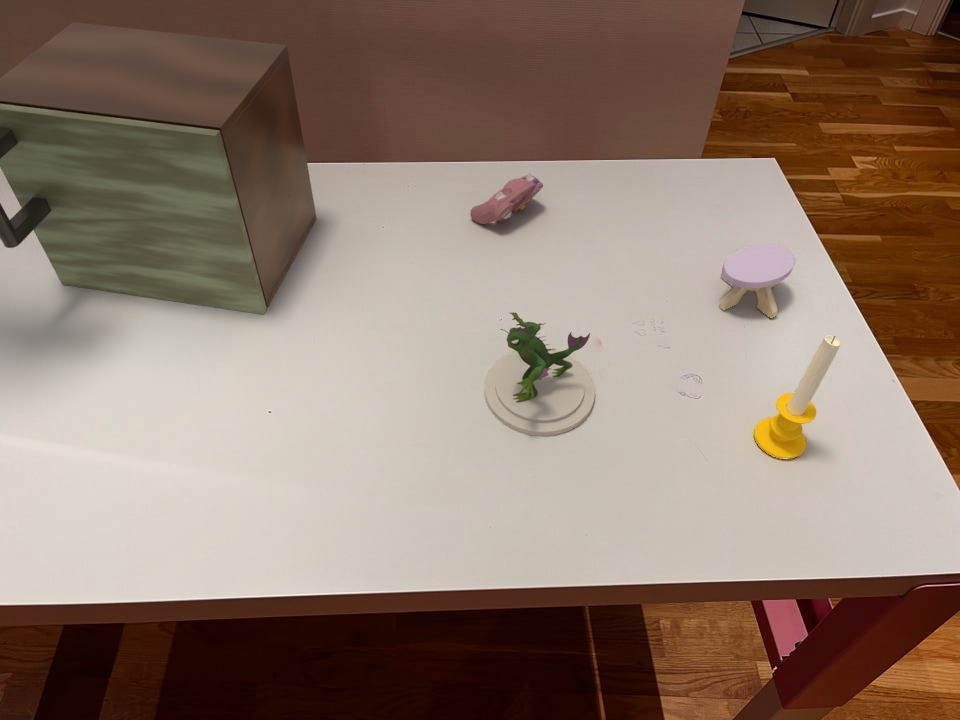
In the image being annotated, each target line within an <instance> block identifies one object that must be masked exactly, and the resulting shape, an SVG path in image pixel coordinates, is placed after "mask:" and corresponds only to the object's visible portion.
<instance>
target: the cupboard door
mask: <svg viewBox="0 0 960 720" xmlns="http://www.w3.org/2000/svg"><path fill="white" fill-rule="evenodd" d="M0 171H2V174H3V175H4V177H5V179H6V181H7V183H8V185H9V187H10V188H11V190H12V192H13V195H14V196H15V198H16V200H17V202H18V204H19V206H20V209H19V210H18V211H17V212H16V213H15V214H14V215H13V216H12V217H11V218H9V216H8V215H7V214H8V213H6V211H5V209H4V207H3V205H2V203H0V241H1V242H2V244H3V246H4V248H7V249H14V248H16V247H18V246H20V245H21V244H22V242H23V241H25V240H26V238H28V236H29V235H30V234H31V233H32V232H33V233H34V234H35V236H36V238H37V240H38V242H39V244H40V246H41V248H42V250H43V251H44V253H45V255H46V257H47V259H48V260H49V263H50V265H51V267H52V268H53V270H54V273H55V274H56V276H57V278H58V280H59V282H60V284H61V285H62V286H68V287H69V286H70V287H76V288H82V289H83V288H84V289H90V290H96V291H104V292H109V293H117V294H124V295H131V296H138V297H142V298H151V299H158V300H163V301H170V302H178V303H183V304H191V305H197V306H203V307H210V308H211V307H212V308H218V309H223V310H224V309H225V310H232V311H237V312H244V313H251V314H258V315H265V313H266V312H267V309H268V308H266V304H265V300H264V296H263V293H262V289H261V285H260V281H259V277H258V274H257V270H256V266H255V262H254V258H253V255H252V251H251V247H250V243H249V239H248V236H247V232H246V228H245V224H244V220H243V217H242V213H241V209H240V205H239V201H238V198H237V194H236V190H235V186H234V182H233V179H232V175H231V171H230V167H229V163H228V160H227V156H226V152H225V148H224V144H223V141H222V137H221V133H220V130H212V129H204V128H195V127H187V126H179V125H171V124H163V123H154V122H146V121H138V120H130V119H122V118H113V117H105V116H97V115H89V114H81V113H73V112H64V111H56V110H48V109H40V108H32V107H23V106H15V105H7V104H0Z"/></svg>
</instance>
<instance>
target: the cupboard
mask: <svg viewBox="0 0 960 720" xmlns="http://www.w3.org/2000/svg"><path fill="white" fill-rule="evenodd" d="M288 49H289V48H288V45H287V44H279V43H268V42H259V41H250V40H241V39H233V38H223V37H213V36H204V35H195V34H187V33H178V32H177V33H176V32H168V31H167V32H166V31H158V30H148V29H139V28H130V27H123V26H122V27H121V26H111V25H104V24H103V25H102V24H94V23H83V22H71V23H70V24H69V25H68V26H67V27H65V28H64V29H62V30H61V31H60V32H58V33H57V34H56V35H55V36H53V37H52V38H51V39H50V40H48V41H47V42H45V43H44V44H43V45H41V46H40V47H39V48H38V49H36V50H35V51H33V52H32V53H31V54H30V55H28V56H27V57H26V58H25V59H23V60H22V61H21V62H19V63H18V64H17V65H15V66H14V67H13V68H11V69H10V70H9V71H7V72H5V74H4V75H2V76H1V77H0V104H7V105H15V106H23V107H32V108H40V109H48V110H56V111H64V112H73V113H81V114H89V115H97V116H105V117H113V118H122V119H130V120H138V121H146V122H154V123H163V124H171V125H179V126H187V127H195V128H204V129H212V130H220V133H221V137H222V141H223V144H224V148H225V152H226V156H227V160H228V163H229V167H230V171H231V175H232V179H233V182H234V186H235V190H236V194H237V198H238V201H239V205H240V209H241V213H242V217H243V220H244V224H245V228H246V232H247V236H248V239H249V243H250V247H251V251H252V255H253V258H254V262H255V266H256V270H257V274H258V277H259V281H260V285H261V289H262V293H263V296H264V300H265V304H266V308H267V309H268V308H269V307H270V305H271V304H272V301H273V300H274V298H275V296H276V294H277V292H278V290H279V288H280V287H281V285H282V283H283V281H284V279H285V278H286V276H287V274H288V273H289V271H290V268H291V267H292V265H293V263H294V262H295V259H296V257H297V256H298V254H299V252H300V250H301V248H302V247H303V245H304V243H305V241H306V240H307V237H308V236H309V234H310V232H311V230H312V229H313V227H314V225H315V223H316V221H317V220H318V218H317V211H316V206H315V200H314V194H313V189H312V183H311V177H310V171H309V165H308V161H307V153H306V148H305V143H304V137H303V131H302V126H301V120H300V114H299V107H298V102H297V96H296V90H295V85H294V78H293V73H292V68H291V67H292V66H291V62H290V55H289V50H288Z"/></svg>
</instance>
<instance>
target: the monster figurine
mask: <svg viewBox="0 0 960 720" xmlns="http://www.w3.org/2000/svg"><path fill="white" fill-rule="evenodd" d="M509 314H510V315H512V317H513V318H512V319H511V321H516V322H517V323H518V324H516V325H515V326H519V327H511V328H510V329H509V331H507V330H505V329H503V328H500V331H504V332H506V333H507V336H506V343H507V347H508V348H510V349H512V350H513V351H510V352H508V353H505V354H503V355H502V356H501V357H500V358H498V359H497V360H496V361H495V362H493V364H492V365H491V366H490V368H489V370H488V371H487V373H486V375H485V379H484V386H483V396H484V399H485V403H486V405H487V407H488V409H489V411H490V413H491V414H492V415H493V416H494V418H496V419H497V421H499V422H500V423H502V424H503V426H506V427H508V428H509V429H511V430H513V431H516V432H517V433H520V434H525V435H528V436H534V437H551V436H557V435H562V434H565V433H567V432H569V431H572V430H573V428H574V429H575V428H577V427H579V425H581V424H582V423H583V422H584V421H585V420H587V418H588V417H589V415H590V414H591V412H592V410H593V406H594V402H595V397H596V389H595V383H594V381H593V377H592V376H591V374H590V373H589V371H588V370H587V369H586V368H585V366H584V365H583V364H582V363H581V362H579V360H577V359H575V358H574V357H572V356H571V354H573V353H574V352H576V351H579V350H581V349H582V348H583V347H584V346H585V345H586V344H587V343H588V341H589V339H590V336H591V333H590V332H589V333H588V334H587V335H586V336H585V337H584V336H582V335H579V336H578V337H575V336H573V334H572V331H570V332H569V334H568V335H567V346H568V348H567V349H565V350H557V349H554V348H548V347H546V346H548V345H549V343H547V344H545V343H544V341H545V339H541V338H546V337H547V335H545V336H539V337H538V336H537V335H538V332H539V331H541V328H542V327H541V326H544V325H545V324H546V322H544V323H542V322H539V323H537V322H534V321H524V320H523V319H522V318H521V317H520V316H519V315H518V313H517V312H516V311H515V312H509Z"/></svg>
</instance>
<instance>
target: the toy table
mask: <svg viewBox="0 0 960 720" xmlns="http://www.w3.org/2000/svg"><path fill="white" fill-rule="evenodd" d="M795 265H796V257H795V254H794V253H793V252H792V251H791V250H789V249H788V248H786V247H784V246H781V245H779V244H774V243H756V244H750V245H747V246H744V247H741V248H738V249H737V250H735V251H734V252H732V253H731V254H728V255H727V257H726V258H725V260H724V263H723V266H722V268H721V273H720V275H719V276H720V278H721V279H722V280H723V281H725V282H726V283H727V284H728V285H729V284H730V285H729V286H730V287H732V288H731V289H730V290H729V291H728V292H727V293H726V294H725V295H724V296H723V298H721V300H720V301H719V303H718V307H719V308H720V310H722V311H724V310H725V311H727V310H729V309H731V308H733V307H735V306H737V305H738V304H739V303H740V301H741V299H742V297H743V296H744V295H745V294H746V292H748V291H752V292H755V294H756V297H757V306H756V308H757V307H758V308H757V310H759V309H760V310H761V311H762V312H764V314H763V315H765V314H766V315H767V316H768V317H770V318H772V319H774V318H776V317H777V316H778V313H779V309H778V305H777V303H776V299H775V296H774V293H773V290H772V289H773V288H775V287H776V286H777V285H778V283H780V282H782V281H784V280H786V279H787V278H788V277H789V276H790V274H791V273H792V271H793V269H794V267H795ZM774 286H775V287H774ZM772 287H773V288H772ZM734 305H735V306H734ZM732 306H733V307H732ZM730 307H731V308H730ZM728 308H729V309H728ZM726 309H727V310H726ZM760 310H759V311H760ZM761 311H760V312H761ZM762 312H761V313H762ZM766 315H765V316H766ZM767 316H766V317H767ZM775 316H776V317H775ZM768 317H767V318H768ZM773 317H774V318H773Z"/></svg>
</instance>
